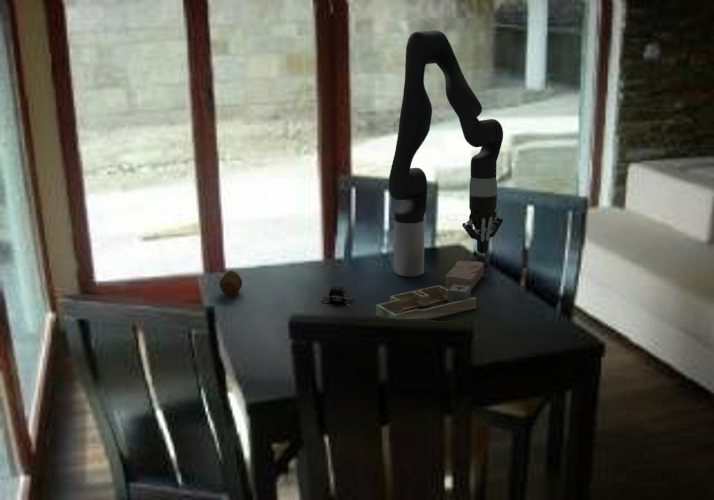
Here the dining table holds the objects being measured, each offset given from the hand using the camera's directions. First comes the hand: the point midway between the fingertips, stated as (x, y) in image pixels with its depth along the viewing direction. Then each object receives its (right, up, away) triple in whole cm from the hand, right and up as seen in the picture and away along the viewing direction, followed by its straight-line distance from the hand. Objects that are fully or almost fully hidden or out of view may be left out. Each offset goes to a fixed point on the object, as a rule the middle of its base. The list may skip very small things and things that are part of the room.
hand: (482, 252), depth 232 cm
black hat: (-41, -15, +6) cm, 44 cm away
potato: (-73, -13, +13) cm, 75 cm away
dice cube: (-6, -15, 0) cm, 16 cm away
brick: (-2, -9, +19) cm, 22 cm away
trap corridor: (-17, -16, -3) cm, 24 cm away
